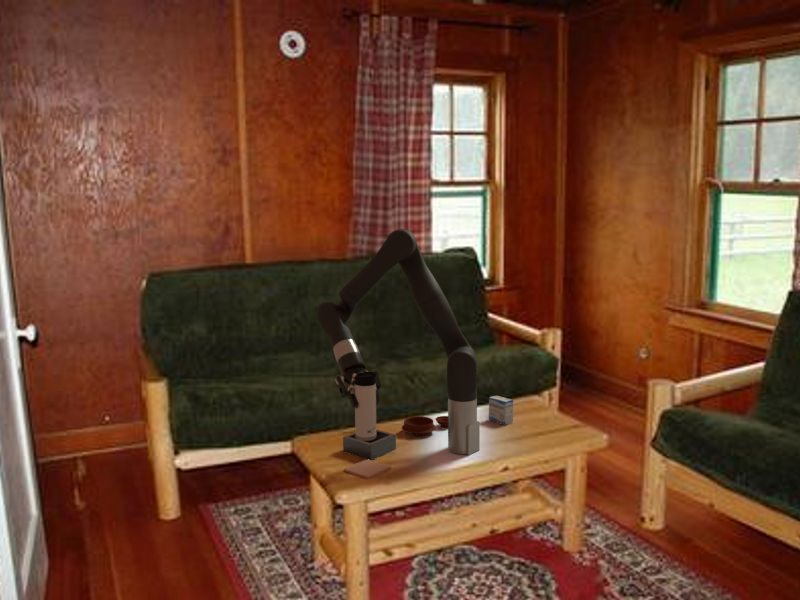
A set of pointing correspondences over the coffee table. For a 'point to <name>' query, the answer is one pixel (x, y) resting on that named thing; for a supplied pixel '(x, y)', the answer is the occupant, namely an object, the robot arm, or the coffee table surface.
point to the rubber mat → (367, 468)
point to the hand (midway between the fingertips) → (367, 404)
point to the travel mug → (365, 406)
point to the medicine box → (500, 410)
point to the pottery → (423, 425)
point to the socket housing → (370, 445)
